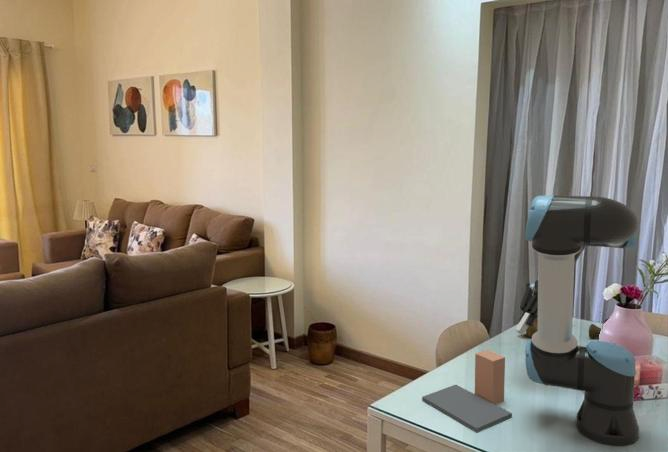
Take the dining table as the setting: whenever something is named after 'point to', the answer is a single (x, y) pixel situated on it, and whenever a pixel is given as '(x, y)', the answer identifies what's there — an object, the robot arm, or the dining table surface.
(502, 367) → the tall block
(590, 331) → the kendama
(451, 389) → the rubber mat
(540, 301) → the robot arm
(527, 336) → the condiment
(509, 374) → the dining table surface
